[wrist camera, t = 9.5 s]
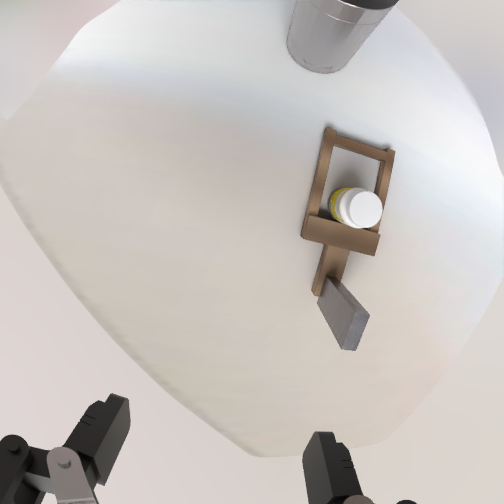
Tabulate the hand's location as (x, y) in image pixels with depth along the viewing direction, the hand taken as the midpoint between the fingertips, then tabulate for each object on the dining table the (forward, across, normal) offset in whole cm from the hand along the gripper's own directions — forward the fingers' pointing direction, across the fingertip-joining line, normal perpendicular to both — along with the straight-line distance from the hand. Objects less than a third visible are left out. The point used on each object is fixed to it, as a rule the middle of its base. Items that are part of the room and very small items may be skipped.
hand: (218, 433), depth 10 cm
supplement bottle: (+29, -12, -10) cm, 33 cm away
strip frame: (+29, -12, -8) cm, 32 cm away
